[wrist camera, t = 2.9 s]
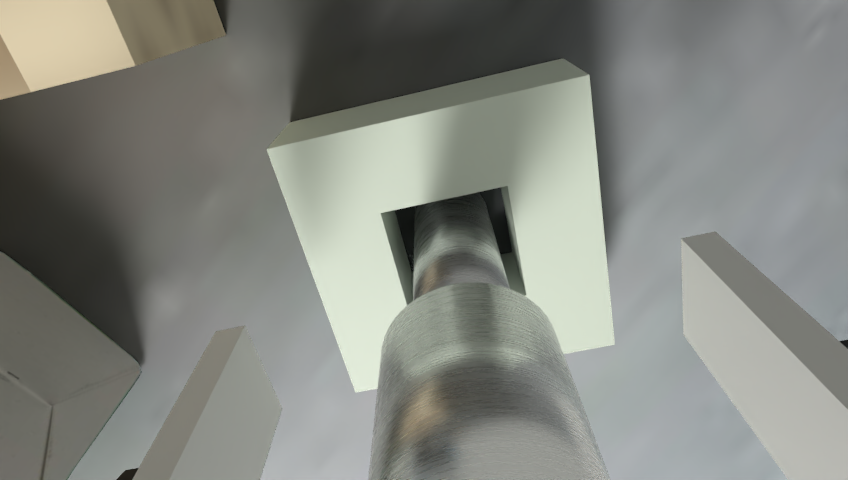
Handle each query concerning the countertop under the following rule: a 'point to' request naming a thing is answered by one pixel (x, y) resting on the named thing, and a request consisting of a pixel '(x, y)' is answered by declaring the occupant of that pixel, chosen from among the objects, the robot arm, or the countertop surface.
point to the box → (52, 379)
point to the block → (94, 37)
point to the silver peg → (474, 369)
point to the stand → (446, 178)
